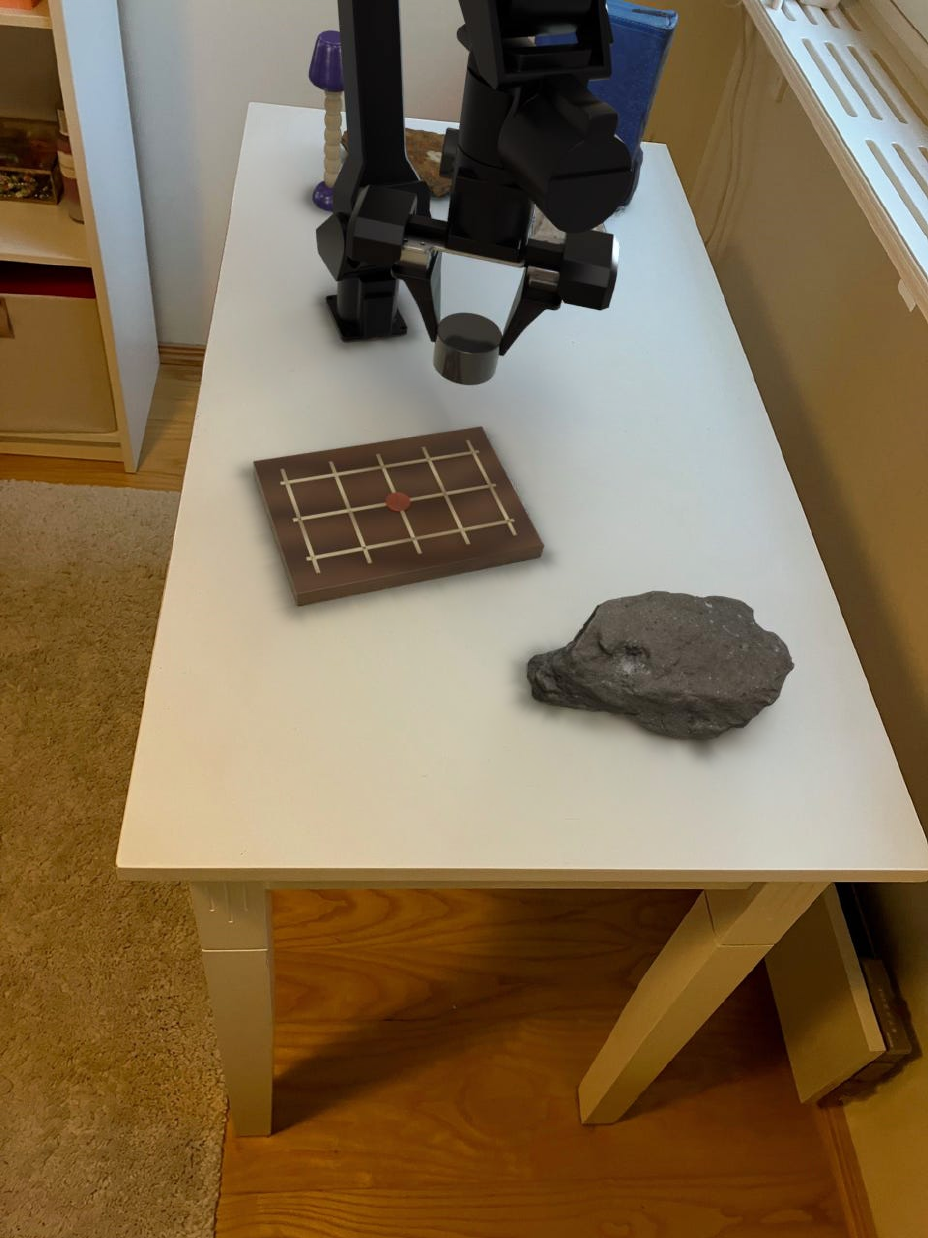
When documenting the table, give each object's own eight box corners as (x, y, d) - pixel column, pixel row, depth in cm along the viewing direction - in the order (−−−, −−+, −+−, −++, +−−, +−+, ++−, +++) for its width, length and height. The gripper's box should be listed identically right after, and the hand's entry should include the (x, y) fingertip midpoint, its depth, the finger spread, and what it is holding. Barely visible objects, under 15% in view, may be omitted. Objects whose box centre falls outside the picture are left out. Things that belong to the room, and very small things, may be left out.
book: (635, 195, 112) (689, 7, 96) (627, 217, 109) (681, 26, 93) (517, 162, 113) (551, -29, 97) (506, 184, 110) (540, -11, 94)
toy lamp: (349, 216, 102) (356, 50, 89) (305, 210, 102) (305, 42, 89) (353, 192, 105) (361, 28, 92) (311, 186, 105) (312, 20, 91)
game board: (253, 473, 78) (252, 459, 77) (479, 438, 85) (482, 424, 83) (297, 606, 71) (297, 593, 70) (541, 557, 77) (545, 544, 76)
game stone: (424, 347, 75) (428, 315, 73) (483, 341, 77) (489, 309, 74) (444, 389, 73) (449, 356, 70) (505, 381, 74) (512, 349, 72)
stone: (548, 752, 64) (568, 610, 61) (516, 698, 72) (532, 570, 69) (796, 751, 68) (827, 618, 64) (739, 700, 76) (764, 579, 73)
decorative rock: (328, 188, 106) (462, 215, 107) (330, 152, 102) (468, 182, 103) (345, 131, 112) (471, 158, 113) (347, 96, 109) (477, 125, 110)
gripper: (646, 118, 67) (592, 309, 79) (383, 63, 67) (370, 264, 79) (641, 200, 60) (583, 395, 72) (348, 139, 60) (340, 346, 72)
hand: (468, 345), depth 74 cm, fingers closed on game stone, 5 cm apart
